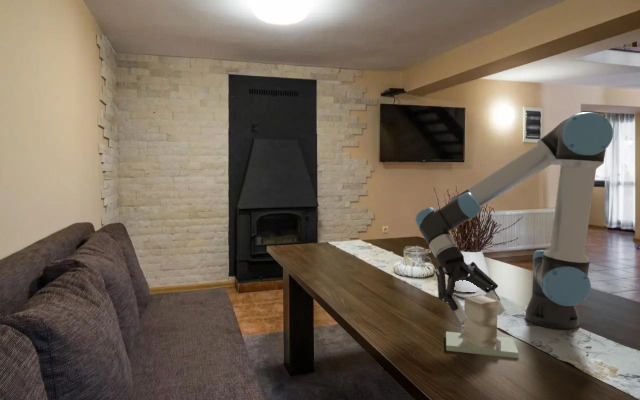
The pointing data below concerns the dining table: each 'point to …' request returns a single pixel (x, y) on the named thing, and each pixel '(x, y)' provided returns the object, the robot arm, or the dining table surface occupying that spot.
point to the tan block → (481, 320)
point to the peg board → (501, 348)
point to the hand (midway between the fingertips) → (483, 316)
